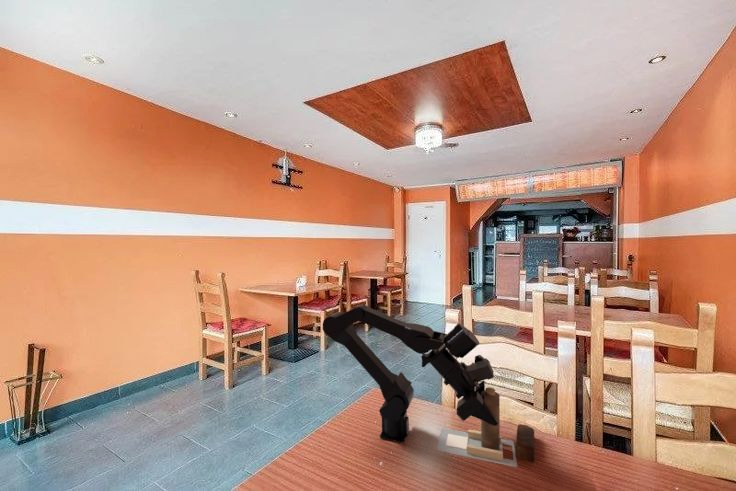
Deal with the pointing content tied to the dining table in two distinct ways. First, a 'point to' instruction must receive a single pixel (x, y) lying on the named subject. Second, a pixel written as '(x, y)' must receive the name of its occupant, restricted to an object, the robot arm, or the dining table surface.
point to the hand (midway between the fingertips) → (496, 419)
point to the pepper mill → (488, 431)
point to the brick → (525, 443)
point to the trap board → (473, 446)
